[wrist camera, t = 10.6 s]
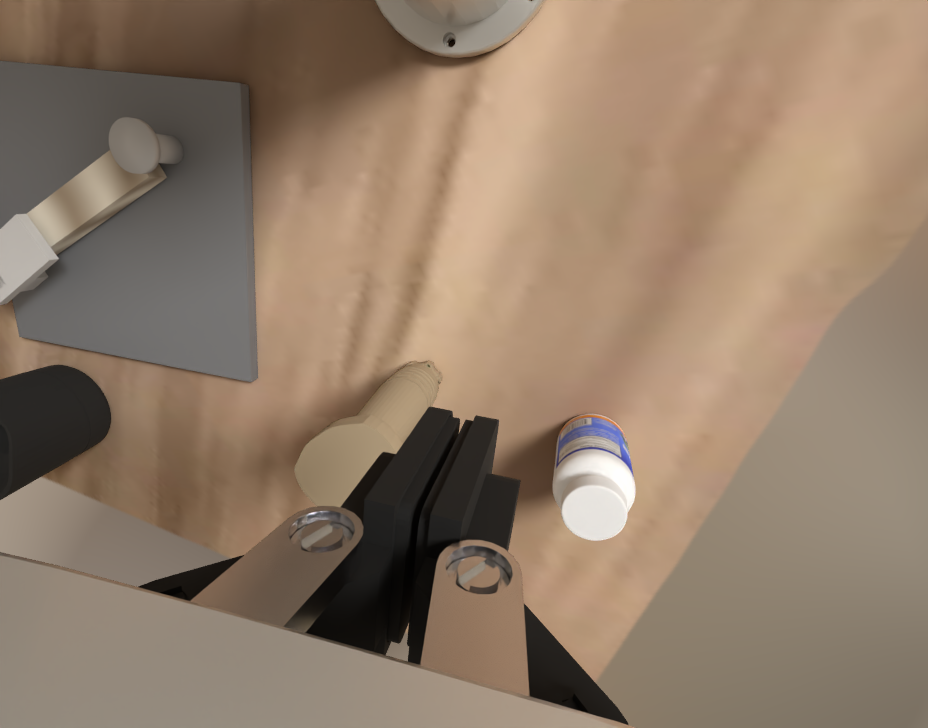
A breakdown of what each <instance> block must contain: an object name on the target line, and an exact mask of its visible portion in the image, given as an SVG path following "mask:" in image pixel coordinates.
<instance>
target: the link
mask: <svg viewBox="0 0 928 728" xmlns="http://www.w3.org/2000/svg"><path fill="white" fill-rule="evenodd" d="M166 178H167V176H166V175H165V173H164V171H163V170H162V168H161V166H160V164H159V163H158V165H157V167H156V168H155V169H154V170H153V171H152V172H150V173H147V174H134V173H130V172H128V171H126V170H124V169H123V168H122V167H120V166H119V165H118V163H117V162H116V161H115V159H114V158H113V156H112V153H111V151H110V150H109V151H108V152H106V153H105V154H104V155H102V156H101V157H100V158H99V159H97V160H96V161H95V162H93V163H92V164H91V165H89V166H88V167H87V168H86V169H84V170H83V171H82V172H80V173H79V174H78V175H76V176H75V177H74V178H73V179H71V180H70V181H69V182H67V183H66V184H65V185H63V186H62V187H61V188H59V189H58V190H57V191H56V192H54V193H53V194H52V195H50V196H49V197H48V198H46V199H45V200H44V201H43V202H41V203H40V204H39V205H37V206H36V207H35V208H33V209H32V210H31V211H29V212H28V213H27V215H28V217H29V218H30V219H31V221H32V222H33V223H34V225H35V226H36V228H37V229H38V230H39V232H40V233H41V235H42V236H43V237H44V239H45V240H46V242H47V243H48V244H49V246H50V247H51V248H52V250H53V251H54V253H55V254H56V255H58V254H59V253H60V252H62V251H63V250H65V249H66V248H67V247H69V246H70V245H72V244H73V243H75V242H76V241H77V240H79V239H80V238H82V237H83V236H85V235H86V234H87V233H89V232H90V231H92V230H93V229H95V228H96V227H97V226H99V225H100V224H102V223H103V222H105V221H106V220H107V219H109V218H110V217H112V216H113V215H114V214H116V213H117V212H119V211H120V210H122V209H123V208H124V207H126V206H127V205H129V204H130V203H132V202H133V201H134V200H136V199H137V198H139V197H140V196H142V195H143V194H144V193H146V192H147V191H149V190H150V189H152V188H153V187H154V186H156V185H157V184H159V183H160V182H162V181H163V180H164V179H166Z"/></svg>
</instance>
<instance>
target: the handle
mask: <svg viewBox="0 0 928 728" xmlns="http://www.w3.org/2000/svg"><path fill="white" fill-rule="evenodd" d="M441 381H442V374H441V373H440V372H438V371H437V370H436V368H435V367H434V363H433V362H431V361H427V362H417V361H412V362H410V363H408V364H407V365H406V366H405V367H404V368H402V369H400V370H399V371H397V372H396V373H395V374H393V375H392V376H391V377H390V378H389V379H387V380H386V381H385V382H384V383H383V384H382V385H381V386H380V387H379V388H378V390H377V391H376V392H375V393H374V394H373V396H372V397H371V398H370V399H369V401H368V402H367V403H366V404H365V406H364V407H363V408H362V409H361V411H360V412H359V413H358V414H357V415H356V416H352V417H347V418H343V419H339V420H337V421H335V422H333V423H332V424H330V425H329V426H327V427H326V428H325V429H323V430H322V431H320V432H319V433H318V434H317V435H316V436H314V437H313V438H312V439H311V440H310V441H309V442H308V443H307V444H306V446H305V447H304V449H303V450H302V452H301V454H300V457H299V459H298V461H297V463H296V466H295V468H294V471H295V476H296V479H297V482H298V484H299V486H300V488H301V489H302V490H303V492H304V493H305V495H306V496H307V497H308V498H309V499H310V500H311V501H312V502H313V503H314V504H315V505H316V506H336V507H341V506H342V504H343V503H344V502H345V500H346V499H347V498H348V496H349V495H350V494H351V492H352V491H353V490H354V488H355V487H356V486H357V484H358V483H359V482H360V480H361V479H362V478H363V476H364V475H365V474H366V472H367V471H368V470H369V468H370V467H371V466H372V464H373V463H374V462H375V461H376V459H377V458H378V457H379V455H380V454H381V453H382V452H389V453H393V454H396V453H397V452H398V450H399V449H400V447H401V446H402V445H403V443H404V442H405V440H406V439H407V437H408V436H409V435H410V433H411V432H412V430H413V429H414V427H415V426H416V424H417V423H418V422H419V420H420V419H421V417H422V416H423V414H424V413H425V412H426V410H427V409H428V407H432V406H433V404H434V401H435V399H436V397H437V393H438V389H439V384H440V383H441Z"/></svg>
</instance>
